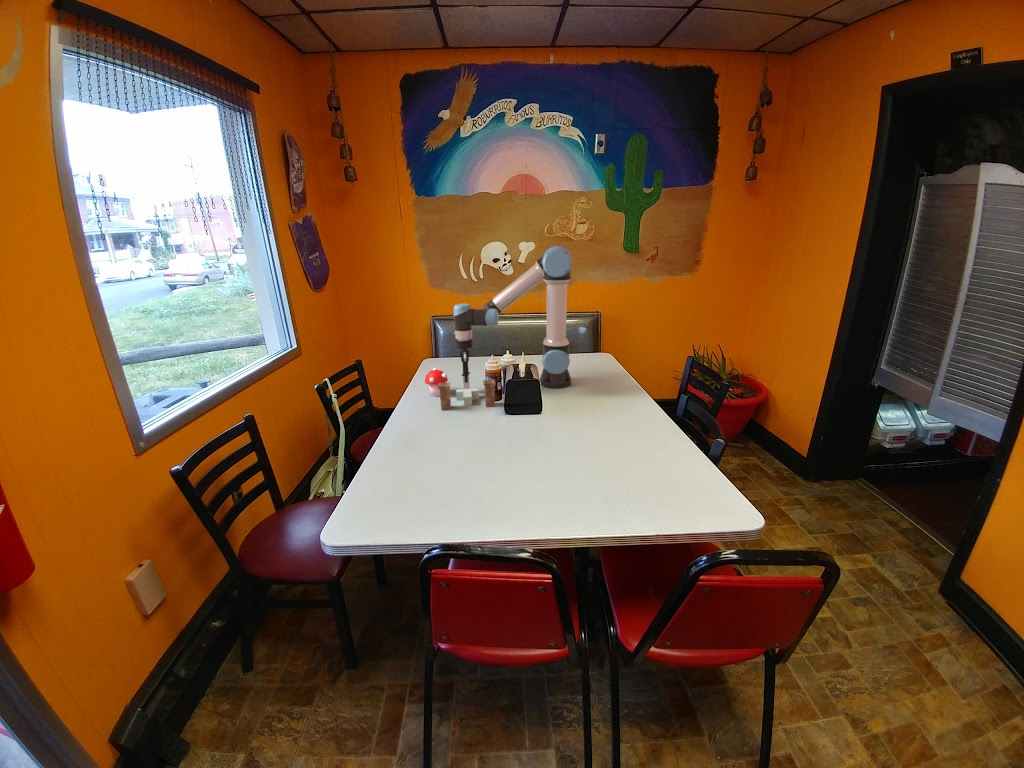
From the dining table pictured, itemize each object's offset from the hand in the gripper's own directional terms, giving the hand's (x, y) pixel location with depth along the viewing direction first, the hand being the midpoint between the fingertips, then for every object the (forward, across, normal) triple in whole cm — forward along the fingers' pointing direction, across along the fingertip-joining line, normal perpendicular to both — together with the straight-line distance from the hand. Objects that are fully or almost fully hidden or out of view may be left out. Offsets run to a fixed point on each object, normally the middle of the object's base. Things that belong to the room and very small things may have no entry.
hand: (466, 388), depth 208 cm
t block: (+2, +11, 0) cm, 11 cm away
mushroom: (+3, -1, -14) cm, 14 cm away
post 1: (+3, +17, -9) cm, 20 cm away
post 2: (+2, +17, +10) cm, 20 cm away
